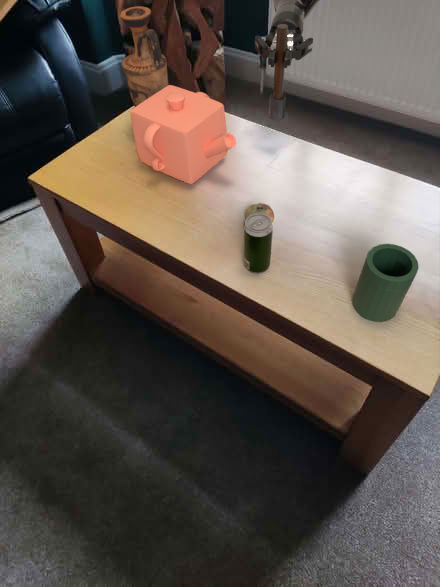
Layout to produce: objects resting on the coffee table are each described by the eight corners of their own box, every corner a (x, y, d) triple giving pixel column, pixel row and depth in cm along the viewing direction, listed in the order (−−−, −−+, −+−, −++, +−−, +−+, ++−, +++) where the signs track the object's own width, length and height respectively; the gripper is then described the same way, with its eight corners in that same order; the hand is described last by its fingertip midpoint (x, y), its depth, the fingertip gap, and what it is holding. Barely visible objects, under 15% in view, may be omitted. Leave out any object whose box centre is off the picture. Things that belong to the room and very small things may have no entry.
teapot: (260, 161, 110) (263, 93, 95) (206, 211, 99) (200, 143, 85) (185, 131, 119) (177, 65, 105) (128, 173, 109) (111, 107, 95)
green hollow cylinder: (378, 280, 85) (395, 237, 76) (407, 311, 80) (429, 269, 71) (343, 296, 83) (356, 254, 74) (370, 328, 78) (388, 288, 69)
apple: (268, 244, 92) (269, 223, 88) (238, 228, 95) (238, 208, 91) (283, 228, 95) (285, 207, 90) (254, 213, 98) (254, 193, 93)
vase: (129, 137, 119) (100, 16, 95) (154, 119, 124) (133, -1, 100) (159, 150, 114) (137, 26, 91) (184, 130, 120) (169, 8, 96)
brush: (279, 110, 106) (285, 20, 90) (287, 118, 104) (295, 27, 88) (265, 114, 105) (269, 24, 89) (273, 122, 103) (279, 31, 87)
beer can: (254, 279, 87) (256, 237, 77) (238, 263, 89) (238, 220, 80) (275, 266, 88) (279, 224, 79) (258, 251, 91) (260, 208, 81)
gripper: (258, 9, 99) (246, 43, 89) (319, 11, 97) (314, 46, 87) (257, 43, 105) (246, 79, 95) (314, 46, 103) (309, 82, 93)
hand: (279, 63), depth 91 cm, fingers closed on brush, 2 cm apart
